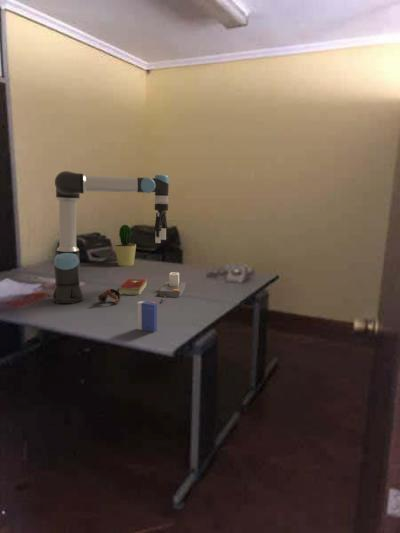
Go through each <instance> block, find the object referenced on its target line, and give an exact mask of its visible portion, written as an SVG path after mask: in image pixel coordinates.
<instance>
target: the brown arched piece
mask: <svg viewBox="0 0 400 533" xmlns="http://www.w3.org/2000/svg"><path fill="white" fill-rule="evenodd" d="M109 297H110V298H111V299H113V300H115V302H114V305H118V304H119V303H120V301H121V298H122V294H120V293H119V292H118V290H117V289H114V288H108V289H107V290H105V291H104V292H103V293H100V294H99V295H98V301H99V303H100V305H102V304H104V305H105V304H106V301H107V299H108V298H109Z"/></svg>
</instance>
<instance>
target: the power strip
mask: <svg viewBox="0 0 400 533" xmlns="http://www.w3.org/2000/svg"><path fill="white" fill-rule="evenodd" d="M185 289H186V282H183V281H179V286H169V281H166V282H165V283H164V284H163V286H162V287H161V288H160V289H159V297H162V299H161V300H160V301H159V302H160V303H161V304H162V303H163V302H164V301H165V299H166V298H167V297H170V298H171V297H174V298H175V297H176V298H180V297H181V295H182V294H183V292H184V290H185Z"/></svg>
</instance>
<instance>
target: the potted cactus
mask: <svg viewBox="0 0 400 533" xmlns="http://www.w3.org/2000/svg"><path fill="white" fill-rule="evenodd" d="M118 233H119V234H118V236H119V240H120V243H116V244H114V248H115V253H116V260H117V265H118V266H120V267H131V266H134V265H135V257H136V249H137V244H136V243H131V240H130V239H131V237H132V229H131V226H129V224H122V225H121V226H120V227H119V231H118Z"/></svg>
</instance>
